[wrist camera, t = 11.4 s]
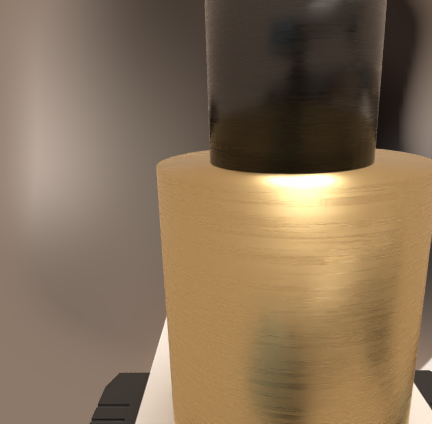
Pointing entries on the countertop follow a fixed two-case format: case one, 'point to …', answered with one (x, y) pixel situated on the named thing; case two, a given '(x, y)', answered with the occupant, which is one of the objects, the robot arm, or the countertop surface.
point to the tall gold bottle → (294, 227)
